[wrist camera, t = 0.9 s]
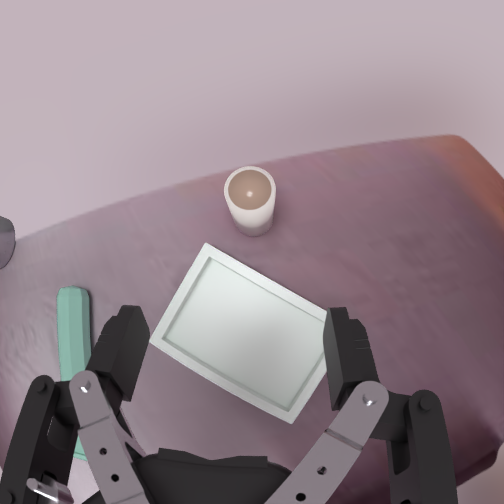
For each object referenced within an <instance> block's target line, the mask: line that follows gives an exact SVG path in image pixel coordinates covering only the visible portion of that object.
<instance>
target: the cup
mask: <svg viewBox="0 0 504 504" xmlns="http://www.w3.org/2000/svg"><path fill="white" fill-rule="evenodd" d="M275 193H276V187H275V183H274V180H273V178H272V177H271V176H270V174H269V173H268V172H266V171H265V170H263V169H261V168H258V167H253V166H248V167H243V168H240V169H238V170H236V171H234V172H233V173H232V174H231V175H230V176H229V177H228V179H227V181H226V183H225V186H224V195H225V198H226V201H227V204H228V206H229V209H230V212H231V214H232V217H233V220H234V222H235V225H236V227H237V229H238V230H239V231H240V232H241V233H243V234H244V235H247V236H250V237H257V236H260V235H263V234H264V233H266V232H267V231H268V230H269V229H270V227H271V225H272V223H273V215H274V204H275Z"/></svg>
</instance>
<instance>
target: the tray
mask: <svg viewBox="0 0 504 504" xmlns="http://www.w3.org/2000/svg"><path fill="white" fill-rule="evenodd" d="M326 314H327V311H325V310H323V309H322V308H320V307H318V306H316V305H314V304H313V303H311V302H309V301H307V300H305V299H304V298H302V297H300V296H298V295H297V294H295V293H293V292H291V291H290V290H288V289H286V288H284V287H282V286H281V285H279V284H277V283H275V282H274V281H272V280H270V279H268V278H267V277H265V276H263V275H261V274H260V273H258V272H256V271H254V270H253V269H251V268H249V267H247V266H246V265H244V264H242V263H240V262H239V261H237V260H235V259H233V258H232V257H230V256H228V255H226V254H225V253H223V252H221V251H220V250H218V249H216V248H214V247H213V246H211V245H209V244H207V243H205V244H204V246H203V248H202V249H201V251H200V253H199V254H198V256H197V258H196V260H195V261H194V263H193V265H192V266H191V268H190V270H189V271H188V273H187V275H186V277H185V278H184V280H183V282H182V283H181V285H180V287H179V289H178V290H177V292H176V294H175V296H174V297H173V299H172V301H171V303H170V304H169V306H168V308H167V310H166V311H165V313H164V315H163V317H162V319H161V320H160V322H159V324H158V326H157V327H156V329H155V331H154V333H153V335H152V337H151V338H150V340H149V342H150V343H152V344H153V345H154V346H156V347H157V348H159V349H160V350H162V351H163V352H165V353H166V354H168V355H169V356H171V357H172V358H174V359H175V360H177V361H178V362H180V363H182V364H183V365H185V366H186V367H188V368H189V369H191V370H193V371H194V372H196V373H198V374H199V375H201V376H202V377H204V378H206V379H207V380H209V381H211V382H213V383H214V384H216V385H218V386H219V387H221V388H223V389H225V390H226V391H228V392H230V393H232V394H233V395H235V396H237V397H239V398H241V399H243V400H244V401H246V402H248V403H250V404H252V405H254V406H256V407H258V408H260V409H262V410H263V411H265V412H267V413H269V414H271V415H273V416H275V417H277V418H279V419H282V420H284V421H286V422H288V423H290V424H292V423H293V422H294V420H295V419H296V418H297V416H298V415H299V413H300V412H301V410H302V409H303V407H304V406H305V404H306V403H307V401H308V400H309V398H310V397H311V395H312V393H313V392H314V390H315V389H316V387H317V386H318V384H319V382H320V381H321V379H322V378H323V376H324V374H325V373H326V371H327V369H326V362H325V355H324V348H323V330H324V325H325V319H326Z"/></svg>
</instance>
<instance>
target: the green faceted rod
mask: <svg viewBox="0 0 504 504" xmlns="http://www.w3.org/2000/svg"><path fill="white" fill-rule="evenodd" d="M57 335H58V352H59V364H60V374H61V381H68V380H71V379H72V377H73V376H74V375H75V374H77V373H78V372H80V371H84V370H85V368H86V366H87V364H88V361H89V359H90V357H91V345H90V322H89V296H88V294H87V291H86V290H85V289H82V288H79V287H76V286H68V287H64V288H60V290H59V292H58V295H57ZM73 457H75V458H78V459H82V460H85V461H87V458H86V455H85V453H84V450H83V447H82V445H81V442H80V439H79V436H78V438H77V442H76V447H75V451H74V455H73Z"/></svg>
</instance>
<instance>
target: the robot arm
mask: <svg viewBox="0 0 504 504" xmlns="http://www.w3.org/2000/svg"><path fill="white" fill-rule="evenodd" d="M14 245H15V230H14V226H13V224H12V222H11V221H10V220H9V219H6V218H4V217H1V216H0V268H2V267H4V266H5V265H6V264H7V263H8V261H9V260H10V258H11V255H12V253H13V249H14ZM149 338H150V332H149V328H148V325H147V323H146V320H145V317H144V315H143V312H142V310H141V308H140V306H132V305H123V306H122V307H121V309H120V311H119V313H118V315H117V316H112V317H111V318H110V319H109V320H108V321H107V322H106V324H105V325H104V327H103V330H102V332H101V335H100V336H99V338H98V342H97V343H96V345H95V347H94V350H93V352H92V354H91V357H90V359H89V361H88V364H87V366H86V368H85V370H84V371H80V372H78V373H77V374H75V375H74V376H73V377H72V379H71V380H68V381H60V382H54V381H53V379H52V378H51V377H49V376H47V375H41V376H38V377H37V378H35V379H34V380H33V382H32V383H31V385H30V388H29V390H28V393H27V395H26V398H25V401H24V404H23V406H22V409H21V412H20V415H19V418H18V421H17V424H16V427H15V430H14V433H13V436H12V439H11V443H10V446H9V450H8V453H7V457H6V461H5V464H4V468H3V472H2V477H1V481H0V504H73V503H74V500H73V498H72V496H71V492H70V490H69V489H68V488H67V484H68V479H69V474H70V469H71V464H72V460H73V455H74V451H75V447H76V442H77V438H78V436H79V439H80V442H81V445H82V447H83V450H84V453H85V455H86V458H87V461H88V463H89V466H90V468H91V471H92V473H93V476H94V478H95V480H96V482H97V485H98V487H99V489H100V490H99V491H98V492H96V493H95V494H94V495H92V496H91V497H90V498H88V499H87V500H86V501H84V502H83V503H82V504H325V503H326V501H327V500H328V499H329V498H330V496H331V495H332V494H333V492H334V491H335V489H336V488H337V487H338V485H339V484H340V483H341V481H342V480H343V478H344V477H345V475H346V474H347V473H348V471H349V470H350V468H351V467H352V465H353V464H354V462H355V461H356V459H357V458H358V456H359V454H360V453H361V451H362V449H363V446H364V444H365V443H366V441H367V439H368V438H374V439H380V440H386V445H387V455H388V466H389V478H390V494H391V504H458V498H457V490H456V481H455V474H454V467H453V461H452V455H451V449H450V444H449V438H448V433H447V429H446V424H445V420H444V415H443V411H442V407H441V403H440V400H439V398H438V397H437V395H436V394H434V393H433V392H431V391H429V390H419V391H417V392H415V393H414V394H413V395H412V396H409V395H402V394H396V393H393V392H390V391H388V390H387V389H386V388H385V387H384V386H383V385H382V384H381V383H380V381H379V378H378V375H377V371H376V367H375V363H374V359H373V355H372V351H371V349H370V344H369V341H368V336H367V333H366V329H365V327H364V326H363V325H362V324H361V322H360V321H359V320H358V319H350V320H349V316H348V312H347V309H346V307H339V308H328V309H327V314H326V319H325V325H324V330H323V348H324V355H325V362H326V369H327V376H328V384H329V391H330V399H331V407H332V411H335V410H339V413H338V415H337V416H336V418H335V419H334V421H333V422H332V423H331V425H330V426H329V428H328V429H327V430H325V432H324V433H323V434H322V435H321V437H320V438H319V439H318V441H317V442H316V443H315V444H314V446H313V447H312V448H311V450H310V451H309V452H308V454H307V455H306V456H305V457H304V459H303V460H302V461H301V462H300V464H299V465H298V466H297V467H296V468H295V470H294V471H293V472H291V471H290V470H288V469H287V468H285V467H283V466H281V465H279V464H276V463H272V462H268V461H267V456H236V457H231V458H225V459H218V460H207V459H204V458H202V457H199V456H196V455H193V454H190V453H187V452H185V451H178V450H171V449H164V448H159V451H158V453H157V454H151V455H148V456H147V455H146V454H145V452H144V450H143V449H142V448H141V446H140V445H139V443H138V442H137V440H136V438H135V436H134V434H133V432H132V430H131V428H130V426H129V424H128V422H127V420H126V417H125V415H124V413H123V411H122V409H121V407H120V406H121V402H122V400H124V401H129V402H131V399H132V395H133V392H134V388H135V385H136V382H137V378H138V375H139V372H140V368H141V365H142V362H143V359H144V356H145V352H146V349H147V346H148V343H149ZM52 417H53V418H52ZM51 420H52V422H51ZM50 423H51V425H50ZM49 427H50V428H49ZM48 430H49V432H48ZM47 434H48V435H47Z"/></svg>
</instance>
